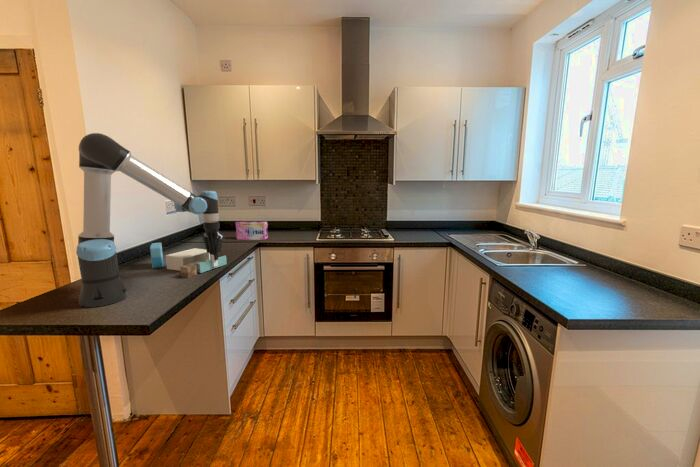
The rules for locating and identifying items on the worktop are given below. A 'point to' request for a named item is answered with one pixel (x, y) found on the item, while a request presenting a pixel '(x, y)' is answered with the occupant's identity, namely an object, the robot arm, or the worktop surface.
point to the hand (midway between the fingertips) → (215, 265)
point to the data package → (156, 255)
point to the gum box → (252, 230)
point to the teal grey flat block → (210, 264)
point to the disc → (201, 261)
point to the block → (188, 270)
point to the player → (185, 258)
